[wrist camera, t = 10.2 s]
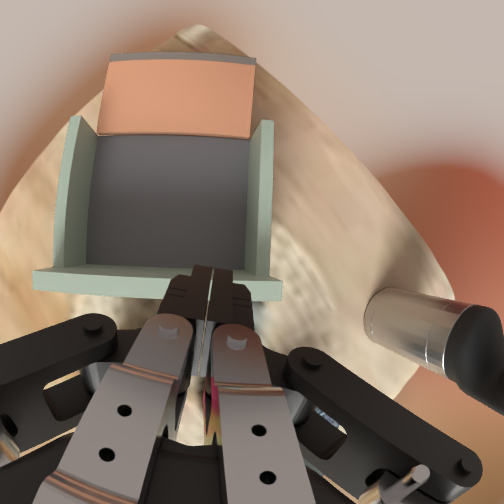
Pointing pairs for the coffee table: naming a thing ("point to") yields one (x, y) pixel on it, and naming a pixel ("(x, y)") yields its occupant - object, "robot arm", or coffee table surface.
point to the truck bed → (161, 212)
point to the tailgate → (178, 94)
